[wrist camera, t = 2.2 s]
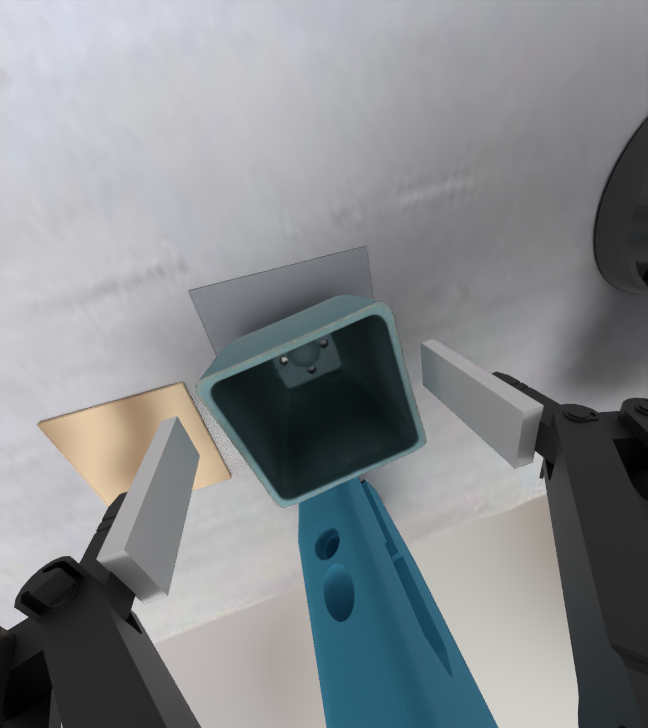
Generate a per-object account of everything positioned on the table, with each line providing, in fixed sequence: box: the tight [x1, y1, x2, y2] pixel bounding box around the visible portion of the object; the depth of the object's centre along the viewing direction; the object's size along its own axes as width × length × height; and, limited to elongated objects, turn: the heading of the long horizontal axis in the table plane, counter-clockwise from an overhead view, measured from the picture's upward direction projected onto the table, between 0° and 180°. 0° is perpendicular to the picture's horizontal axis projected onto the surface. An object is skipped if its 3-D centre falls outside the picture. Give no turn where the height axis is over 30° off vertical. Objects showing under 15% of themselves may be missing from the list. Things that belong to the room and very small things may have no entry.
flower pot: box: [196, 294, 426, 508], centre depth 17 cm, size 9×9×9 cm
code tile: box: [188, 246, 373, 372], centre depth 21 cm, size 12×12×1 cm
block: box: [298, 476, 498, 728], centre depth 20 cm, size 12×5×20 cm, turn 35°
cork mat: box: [37, 382, 231, 507], centre depth 22 cm, size 10×10×1 cm
